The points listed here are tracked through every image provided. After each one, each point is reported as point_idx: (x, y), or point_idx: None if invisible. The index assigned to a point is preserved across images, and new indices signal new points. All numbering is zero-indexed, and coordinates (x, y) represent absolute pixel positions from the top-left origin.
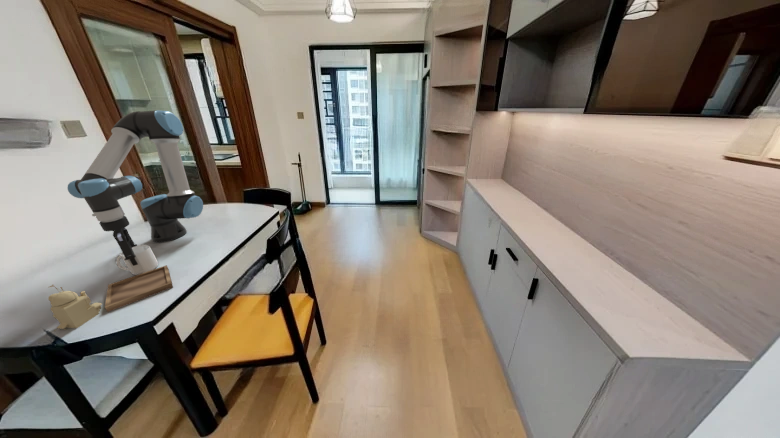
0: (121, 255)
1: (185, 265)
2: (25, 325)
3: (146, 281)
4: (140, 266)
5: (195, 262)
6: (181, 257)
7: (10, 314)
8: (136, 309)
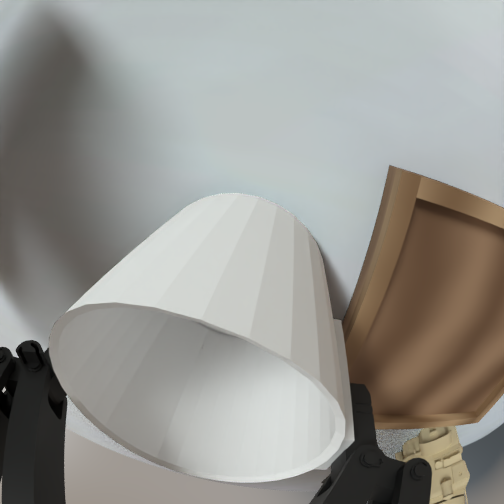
0: (204, 475)
1: (440, 75)
2: (308, 484)
3: (459, 318)
4: (340, 349)
5: (448, 25)
6: (247, 35)
7: (213, 480)
8: None
